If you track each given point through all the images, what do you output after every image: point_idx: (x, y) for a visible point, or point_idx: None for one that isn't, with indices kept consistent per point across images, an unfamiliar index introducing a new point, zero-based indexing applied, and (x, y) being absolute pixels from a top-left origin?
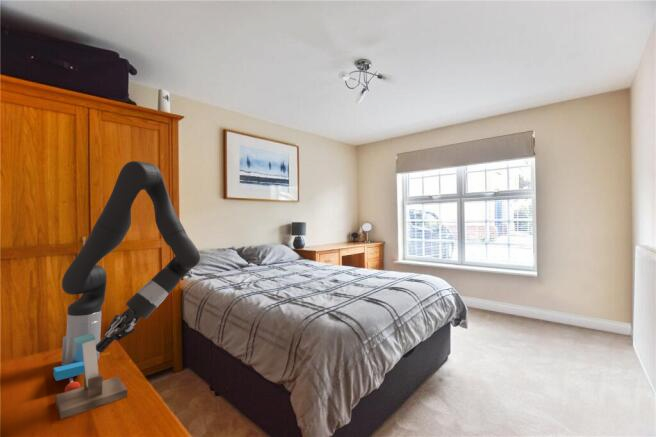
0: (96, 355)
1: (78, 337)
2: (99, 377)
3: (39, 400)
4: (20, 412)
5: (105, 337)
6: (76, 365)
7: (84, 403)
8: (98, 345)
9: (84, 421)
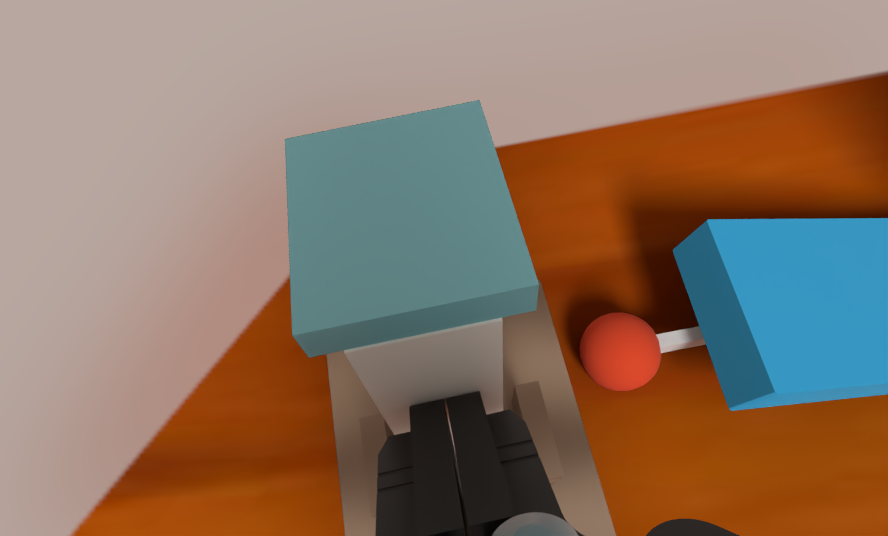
0: (396, 434)
1: (475, 140)
2: (369, 492)
3: (602, 229)
4: (515, 183)
5: (446, 520)
6: (846, 327)
7: (336, 424)
8: (414, 432)
9: (240, 440)
